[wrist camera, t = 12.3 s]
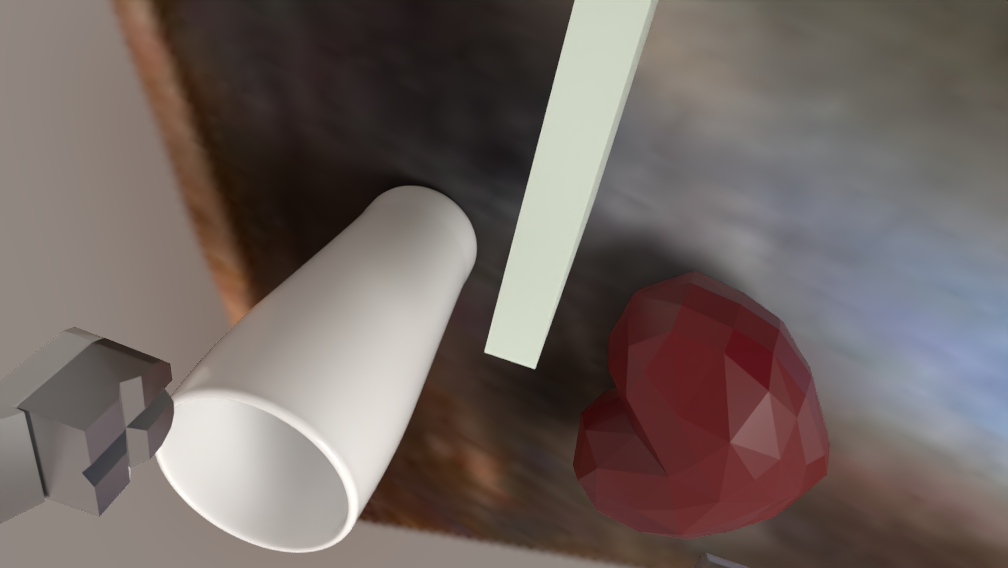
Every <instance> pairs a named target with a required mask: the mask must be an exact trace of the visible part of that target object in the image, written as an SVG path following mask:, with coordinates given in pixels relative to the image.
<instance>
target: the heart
mask: <svg viewBox="0 0 1008 568" xmlns="http://www.w3.org/2000/svg"><path fill="white" fill-rule="evenodd" d="M608 370H609V372H610V374H611V377H612V379H613V381H614V384H615V386H616V387H615V388H613V389H610V390H608V391H605V392H604V393H603V394H602V395H601V396H600V397H598V398H597V399H596V400H595V401H594V402H593V403H592V404H591V405H590V406H589V407H588V408H586V409H585V410H584V411H583V412H582V414H581V420H580V426H579V432H578V438H577V444H576V450H575V456H574V462H573V466H574V470H575V473H576V476H577V479H578V481H579V483H580V485H581V486H582V488H583V489H584V491H585V493H586V494H587V496H588V497H589V499H590V501H591V502H592V504H593V505H594V507H595V509H596V510H597V511H599V512H601V513H603V514H605V515H606V516H608V517H610V518H612V519H614V520H616V521H618V522H620V523H622V524H624V525H626V526H628V527H630V528H632V529H634V530H636V531H638V532H643V533H649V534H656V535H663V536H669V537H676V538H682V539H692V538H697V537H702V536H707V535H712V534H717V533H723V532H728V531H732V530H735V529H738V528H741V527H744V526H747V525H751V524H754V523H757V522H760V521H763V520H766V519H770V518H773V517H774V516H776V515H777V514H779V513H780V512H781V511H783V510H784V509H786V508H787V507H788V506H790V505H791V504H793V503H794V502H795V501H796V500H797V499H799V498H800V497H801V496H802V495H803V494H804V493H806V492H807V491H808V490H809V489H810V488H811V487H813V486H814V485H815V484H816V483H817V482H819V481H820V480H821V479H822V478H823V477H824V476H826V475H827V466H828V456H829V447H830V444H829V438H828V433H827V429H826V425H825V422H824V418H823V414H822V410H821V407H820V403H819V399H818V396H817V392H816V388H815V384H814V381H813V377H812V373H811V369H810V367H809V365H808V363H807V362H806V360H805V359H804V357H803V355H802V354H801V352H800V351H799V349H798V347H797V346H796V344H795V342H794V340H793V338H792V337H791V335H790V333H789V331H788V329H787V328H786V326H785V324H784V322H783V321H782V320H780V319H779V318H778V317H776V316H775V315H774V314H772V313H771V312H769V311H768V310H767V309H765V308H764V307H762V306H761V305H760V304H758V303H757V302H755V301H754V300H752V299H751V298H750V297H748V296H747V295H745V294H744V293H742V292H740V291H738V290H736V289H734V288H732V287H730V286H727V285H725V284H723V283H721V282H719V281H717V280H715V279H712V278H710V277H708V276H706V275H704V274H702V273H700V272H697V271H692V272H689V273H686V274H683V275H680V276H676V277H673V278H670V279H667V280H664V281H661V282H658V283H655V284H652V285H649V286H646V287H642V288H640V289H639V290H638V291H637V292H635V293H634V294H633V295H632V297H631V298H630V300H629V302H628V304H627V305H626V307H625V309H624V311H623V312H622V314H621V316H620V318H619V319H618V321H617V323H616V325H615V326H614V328H613V330H612V332H611V333H610V335H609V341H608Z"/></svg>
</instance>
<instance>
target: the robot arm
mask: <svg viewBox="0 0 1008 568" xmlns="http://www.w3.org/2000/svg"><path fill="white" fill-rule="evenodd" d="M171 381H172V374H171V366H170V363H167V362H165V361H163V360H160V359H158V358H155V357H153V356H150V355H147V354H145V353H142V352H140V351H137V350H134V349H132V348H129V347H127V346H124V345H122V344H119V343H116V342H114V341H111V340H109V339H106V338H103V337H100V336H98V335H95V334H92V333H90V332H87V331H84V330H81V329H79V328H76V327H73V328H70V329H67V330H64V331H62V332H60V333H59V334H58V335H57V336H55V337H54V338H53V339H51V340H50V341H49V342H48V343H46V344H45V345H44V346H43V347H42V348H40V349H39V350H38V351H36V352H35V353H34V354H33V355H31V356H30V357H29V358H28V359H26V360H25V361H24V362H23V363H21V364H20V365H19V366H18V367H17V368H15V369H14V370H13V371H11V372H10V373H9V374H8V375H6V376H5V377H4V378H3V379H1V380H0V523H3V522H5V521H7V520H9V519H11V518H13V517H15V516H17V515H19V514H21V513H23V512H25V511H27V510H29V509H31V508H33V507H35V506H37V505H39V504H41V503H43V502H45V498H47V499H50V500H53V501H56V502H59V503H61V504H64V505H67V506H70V507H73V508H76V509H79V510H81V511H84V512H87V513H90V514H93V515H96V516H99V517H100V515H102V513H103V512H104V511H105V510H106V509H107V508H108V507H109V505H110V504H111V503H112V502H113V501H114V500H115V498H116V497H117V496H118V495H119V494H120V493H121V492H122V491H123V490H124V489H125V487H126V486H127V485H128V484H129V483H130V467H133V466H135V465H137V464H140V463H143V462H145V461H148V460H150V459H151V458H152V456H153V455H154V454H155V453H156V452H157V451H158V449H159V448H160V447H161V446H162V444H163V442H164V440H165V438H166V436H167V435H168V433H169V431H170V429H171V426H172V422H173V417H174V401H173V400H172V398H171V397H170V395H169V394H168V393H167V391H166V390H165V387H166V386H167V385H168V384H169V383H170V382H171ZM693 568H749V567H746V566H743V565H740V564H737V563H734V562H731V561H728V560H725V559H722V558H719V557H716V556H714V555H711V554H708V553H705V554H703V555H702V556H700V558H699V559H698V561H697V562H696V564H695V565H694V567H693Z"/></svg>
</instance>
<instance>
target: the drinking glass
mask: <svg viewBox="0 0 1008 568" xmlns="http://www.w3.org/2000/svg"><path fill="white" fill-rule="evenodd" d="M476 255H477V241H476V236H475V232H474V229H473V227H472V224H471V222H470V221H469V219H468V217H467V216H466V214H465V213H464V212H463V210H462V209H461V208H460V207H459V206H458V205H457V204H456V203H455V202H454V201H452V200H451V199H450V198H448V197H447V196H445V195H444V194H442V193H440V192H438V191H435V190H433V189H430V188H426V187H422V186H413V185H409V186H400V187H396V188H393V189H390V190H388V191H386V192H384V193H382V194H381V195H379V196H378V197H377V198H376V199H375V200H373V201H372V202H371V204H370V205H369V206H368V207H367V208H366V209H365V210H364V211H363V213H362V214H361V215H360V216H359V217H358V218H357V219H356V220H354V221H353V222H352V223H351V224H350V225H349V226H348V227H346V228H345V229H344V230H343V231H342V232H341V233H340V234H338V235H337V236H336V237H335V238H334V239H333V240H332V241H330V242H329V243H328V244H327V245H326V246H325V247H323V248H322V249H321V250H320V251H319V252H318V253H316V254H315V255H314V256H313V257H312V258H311V259H309V260H308V261H307V262H306V263H305V264H304V265H302V266H301V267H300V268H299V269H298V270H297V271H295V272H294V273H293V274H292V275H291V276H289V277H288V278H287V279H286V280H285V281H284V282H282V283H281V284H280V285H279V286H278V287H277V288H275V289H274V290H273V291H272V292H271V293H269V294H268V295H267V296H266V297H265V298H264V299H262V300H261V301H260V302H259V303H258V304H257V305H256V306H254V307H253V308H252V309H251V310H250V311H249V312H248V313H247V314H245V315H244V316H243V317H242V318H241V319H240V320H239V321H238V322H237V323H236V324H235V325H234V326H233V327H232V328H231V329H230V330H229V331H228V332H226V333H225V335H223V337H222V338H221V339H220V340H219V341H218V342H217V343H216V344H215V345H214V346H213V347H212V348H211V349H210V350H209V351H208V353H206V355H205V356H204V357H203V358H202V359H201V360H200V361H199V363H197V365H196V366H195V367H194V368H193V369H192V371H191V372H190V373H189V374H188V375H187V376H186V378H185V379H184V380H183V381H182V382H181V384H180V385H179V386H178V387H177V388H176V390H175V391H174V392H173V393H172V395H171V396H170V397H171V398H172V400H173V401H174V417H173V422H172V426H171V429H170V431H169V433H168V435H167V436H166V438H165V440H164V442H163V444H162V446H161V447H160V448H159V449H158V451H157V452H156V453H155V456H156V459H157V462H158V464H159V466H160V468H161V470H162V472H163V474H164V475H165V477H166V479H167V480H168V482H169V483H170V484H171V486H172V487H173V488H174V490H175V491H176V492H177V493H178V494H179V495H180V496H181V498H182V499H183V500H184V501H185V502H186V503H187V504H188V505H189V506H191V507H192V508H193V509H194V510H195V511H196V512H197V513H199V514H200V515H201V516H202V517H204V518H205V519H207V520H208V521H210V522H211V523H212V524H214V525H215V526H217V527H218V528H220V529H222V530H224V531H226V532H227V533H229V534H231V535H233V536H235V537H237V538H239V539H242V540H244V541H246V542H249V543H251V544H254V545H258V546H260V547H264V548H268V549H272V550H277V551H283V552H295V553H296V552H297V553H302V552H312V551H318V550H322V549H325V548H328V547H330V546H332V545H334V544H336V543H338V542H339V541H341V540H342V539H343V538H344V537H345V536H346V535H347V534H348V533H349V531H351V529H352V528H353V526H354V524H355V522H356V521H357V519H358V517H359V516H360V514H361V512H362V511H363V509H364V507H365V506H366V504H367V503H368V501H369V499H370V498H371V496H372V494H373V492H374V491H375V489H376V487H377V485H378V484H379V482H380V480H381V478H382V476H383V475H384V473H385V471H386V469H387V467H388V465H389V463H390V461H391V459H392V457H393V455H394V453H395V451H396V449H397V447H398V445H399V443H400V441H401V439H402V437H403V435H404V433H405V430H406V428H407V426H408V423H409V421H410V419H411V416H412V414H413V411H414V409H415V406H416V404H417V401H418V399H419V396H420V394H421V391H422V388H423V386H424V383H425V381H426V378H427V375H428V373H429V370H430V368H431V365H432V362H433V360H434V357H435V355H436V352H437V350H438V347H439V345H440V342H441V339H442V337H443V334H444V332H445V329H446V327H447V324H448V322H449V319H450V317H451V314H452V312H453V309H454V307H455V304H456V302H457V299H458V297H459V294H460V292H461V290H462V287H463V286H464V284H465V282H466V280H467V278H468V277H469V275H470V273H471V271H472V269H473V266H474V263H475V260H476Z"/></svg>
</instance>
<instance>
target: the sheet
mask: <svg viewBox="0 0 1008 568" xmlns="http://www.w3.org/2000/svg"><path fill="white" fill-rule="evenodd" d="M658 1H659V0H575V1H574V5H573V9H572V13H571V17H570V21H569V24H568V28H567V32H566V36H565V40H564V44H563V48H562V52H561V56H560V59H559V63H558V67H557V71H556V75H555V79H554V83H553V87H552V91H551V94H550V98H549V102H548V106H547V110H546V114H545V118H544V122H543V126H542V129H541V133H540V137H539V141H538V145H537V149H536V153H535V157H534V161H533V164H532V168H531V172H530V176H529V180H528V184H527V188H526V192H525V196H524V199H523V203H522V207H521V211H520V215H519V219H518V223H517V227H516V231H515V234H514V238H513V242H512V246H511V250H510V254H509V258H508V262H507V266H506V270H505V273H504V277H503V281H502V285H501V289H500V293H499V297H498V301H497V305H496V308H495V312H494V316H493V320H492V324H491V328H490V332H489V336H488V340H487V343H486V347H485V351H484V352H485V353H488V354H491V355H494V356H497V357H500V358H503V359H506V360H509V361H512V362H515V363H518V364H521V365H524V366H527V367H530V368H532V369H535V368H536V365H537V362H538V360H539V357H540V354H541V351H542V348H543V345H544V343H545V340H546V337H547V334H548V331H549V328H550V326H551V323H552V320H553V317H554V314H555V311H556V308H557V306H558V303H559V300H560V297H561V294H562V291H563V289H564V286H565V283H566V280H567V277H568V274H569V271H570V269H571V266H572V263H573V260H574V257H575V254H576V252H577V249H578V246H579V243H580V240H581V237H582V235H583V232H584V229H585V226H586V223H587V220H588V217H589V215H590V212H591V209H592V206H593V203H594V200H595V197H596V194H597V191H598V188H599V184H600V181H601V178H602V175H603V172H604V169H605V166H606V163H607V160H608V156H609V153H610V150H611V147H612V144H613V141H614V138H615V135H616V131H617V128H618V125H619V122H620V119H621V116H622V113H623V110H624V107H625V103H626V100H627V97H628V94H629V91H630V88H631V85H632V82H633V78H634V75H635V72H636V69H637V66H638V63H639V60H640V57H641V54H642V50H643V47H644V44H645V41H646V38H647V35H648V32H649V29H650V25H651V22H652V19H653V16H654V13H655V10H656V7H657V4H658Z"/></svg>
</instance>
